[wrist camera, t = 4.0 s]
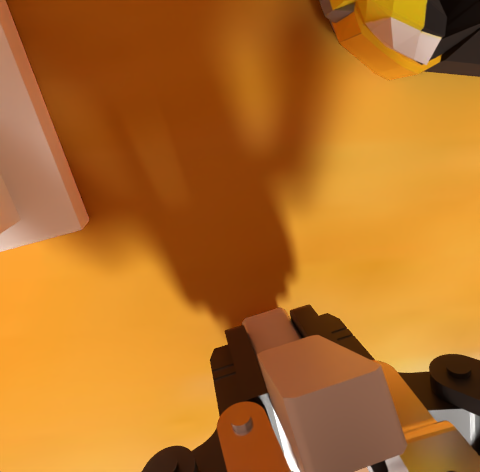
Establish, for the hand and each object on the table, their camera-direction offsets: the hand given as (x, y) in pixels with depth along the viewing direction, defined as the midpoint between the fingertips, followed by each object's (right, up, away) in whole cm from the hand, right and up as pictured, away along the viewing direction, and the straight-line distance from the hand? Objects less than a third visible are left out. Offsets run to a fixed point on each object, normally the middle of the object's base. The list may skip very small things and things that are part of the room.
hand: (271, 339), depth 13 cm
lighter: (0, 0, +1) cm, 1 cm away
